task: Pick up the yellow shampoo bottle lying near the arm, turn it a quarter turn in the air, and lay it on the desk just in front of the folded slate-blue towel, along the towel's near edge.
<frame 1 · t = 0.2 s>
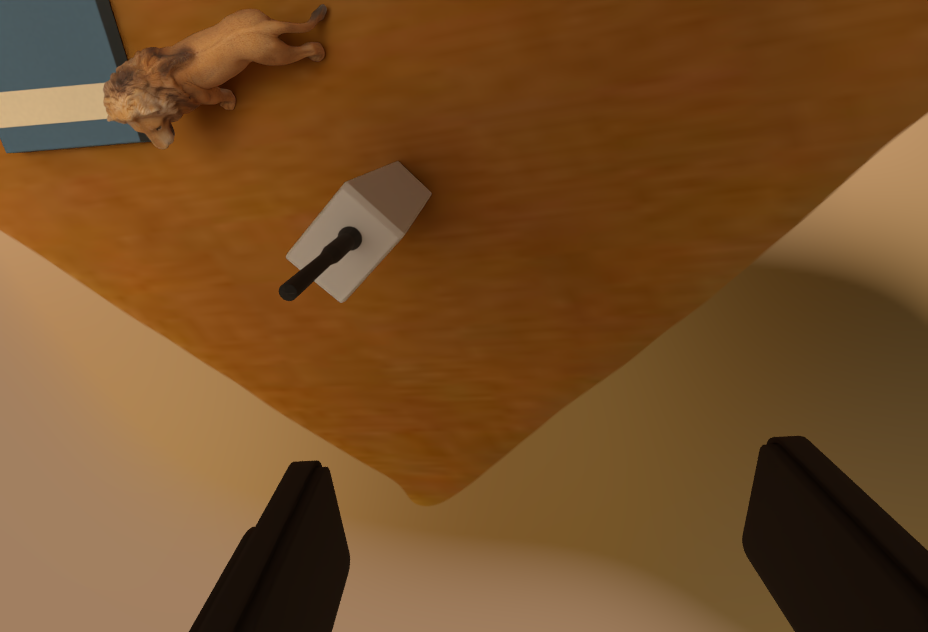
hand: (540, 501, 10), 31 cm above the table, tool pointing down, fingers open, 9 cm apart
towel: (35, 1, 33), on the table
vintage mobile phone: (396, 199, 38), on the table
lion figurine: (250, 76, 35), on the table
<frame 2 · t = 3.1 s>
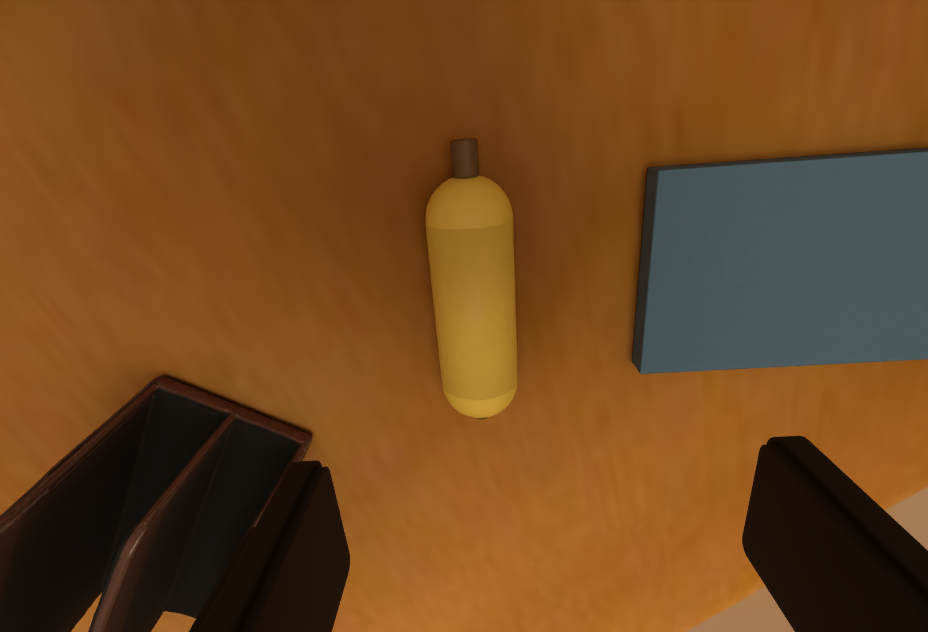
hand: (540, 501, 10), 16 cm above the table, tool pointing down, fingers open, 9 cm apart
letter holder: (203, 506, 32), on the table
yellow shampoo bottle: (474, 291, 26), on the table
towel: (827, 261, 25), on the table
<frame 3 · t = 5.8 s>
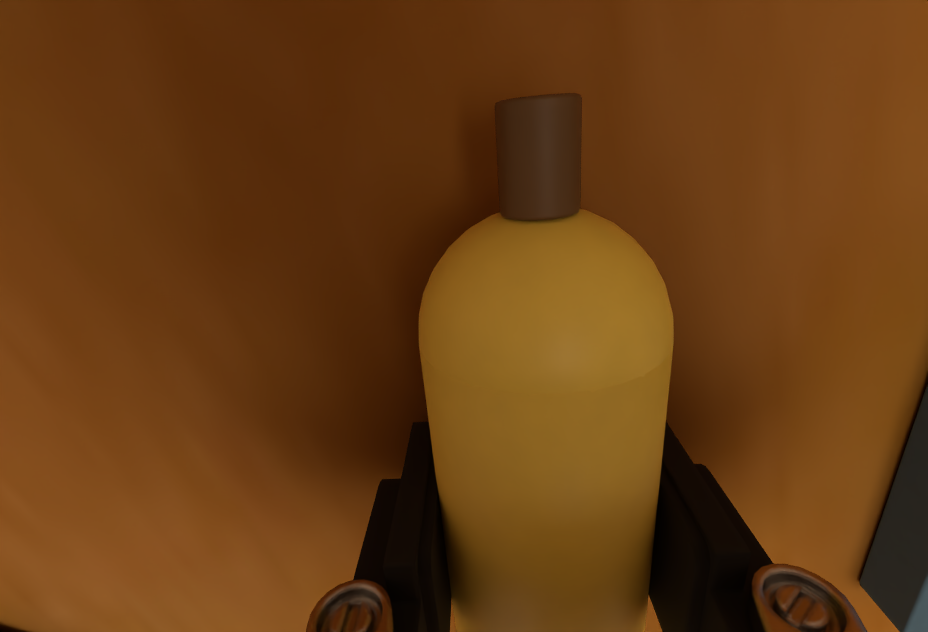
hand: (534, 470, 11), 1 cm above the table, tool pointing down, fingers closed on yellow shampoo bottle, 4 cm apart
yellow shampoo bottle: (532, 455, 11), on the table, touching gripper
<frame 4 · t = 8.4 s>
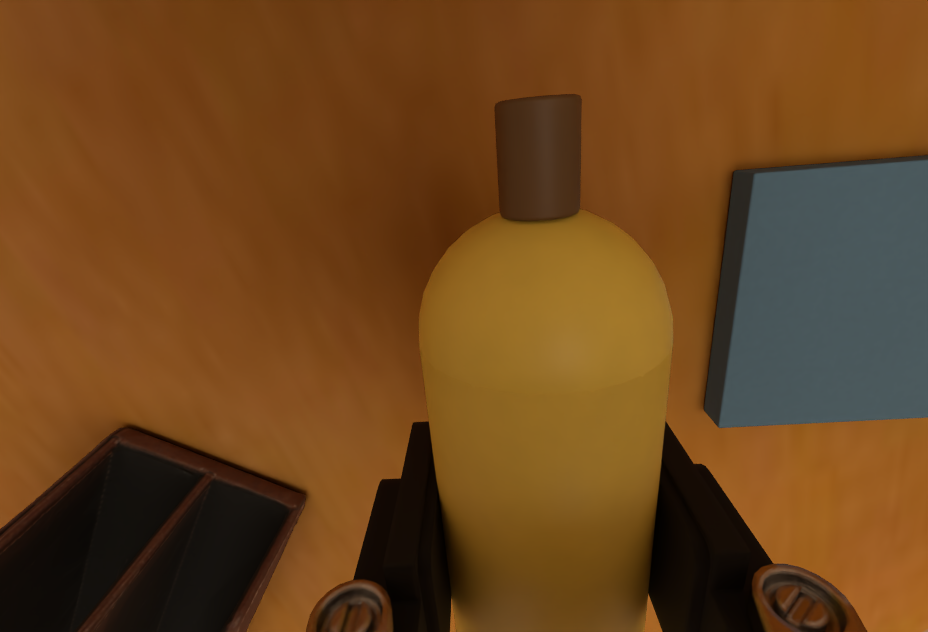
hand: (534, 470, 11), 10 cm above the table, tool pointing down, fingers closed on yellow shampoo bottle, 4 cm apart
letter holder: (179, 576, 27), on the table
yellow shampoo bottle: (532, 455, 11), point 10 cm above the table, touching gripper
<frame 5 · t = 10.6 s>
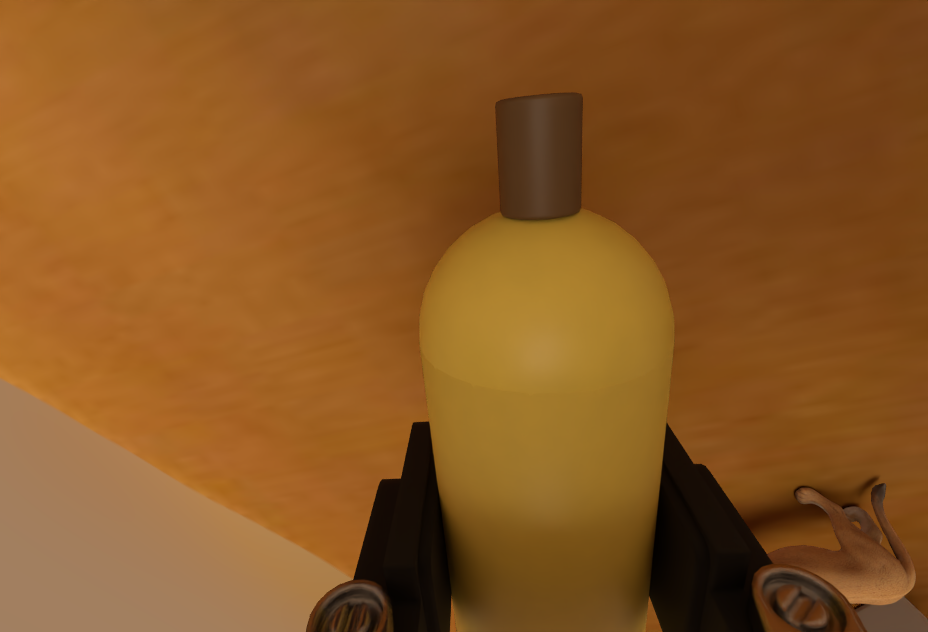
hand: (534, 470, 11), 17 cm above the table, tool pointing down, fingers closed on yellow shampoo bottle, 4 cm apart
yellow shampoo bottle: (532, 455, 11), point 16 cm above the table, touching gripper
vintage mobile phone: (874, 611, 36), on the table
lion figurine: (763, 522, 33), on the table
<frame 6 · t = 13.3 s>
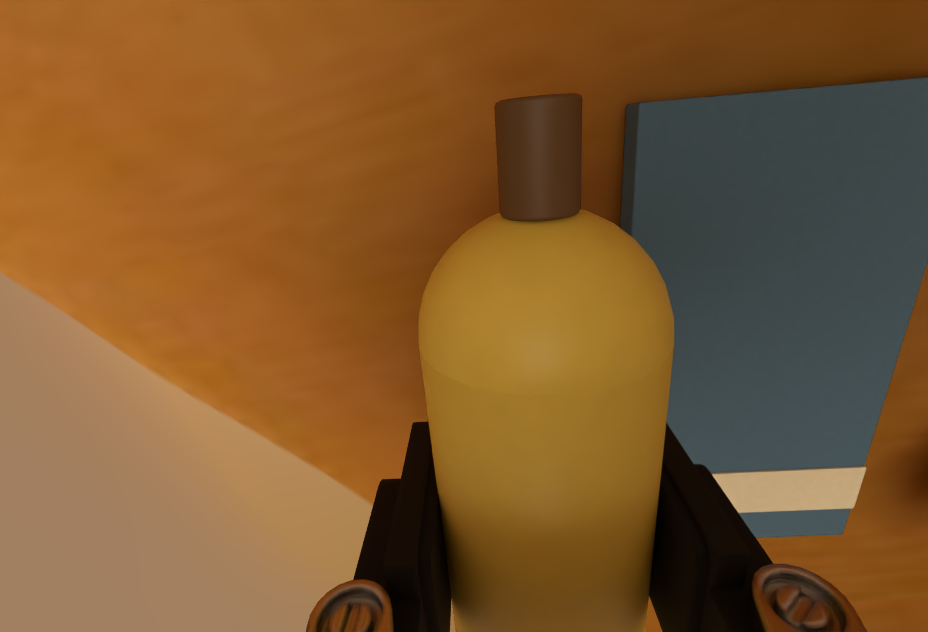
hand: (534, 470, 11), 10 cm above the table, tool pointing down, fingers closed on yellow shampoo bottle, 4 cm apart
yellow shampoo bottle: (532, 456, 11), point 9 cm above the table, touching gripper
towel: (740, 342, 20), on the table
when the fingers open (0 cm above the table, at t = 15.7 s): yellow shampoo bottle stays where it is, on the table.
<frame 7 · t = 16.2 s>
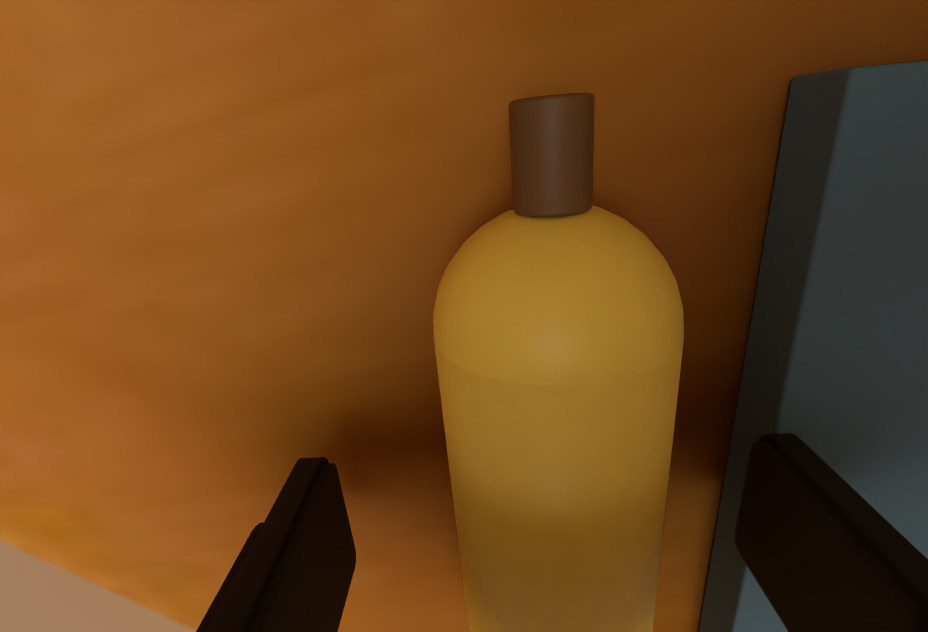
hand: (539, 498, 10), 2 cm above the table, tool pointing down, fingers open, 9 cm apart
yellow shampoo bottle: (545, 449, 12), on the table
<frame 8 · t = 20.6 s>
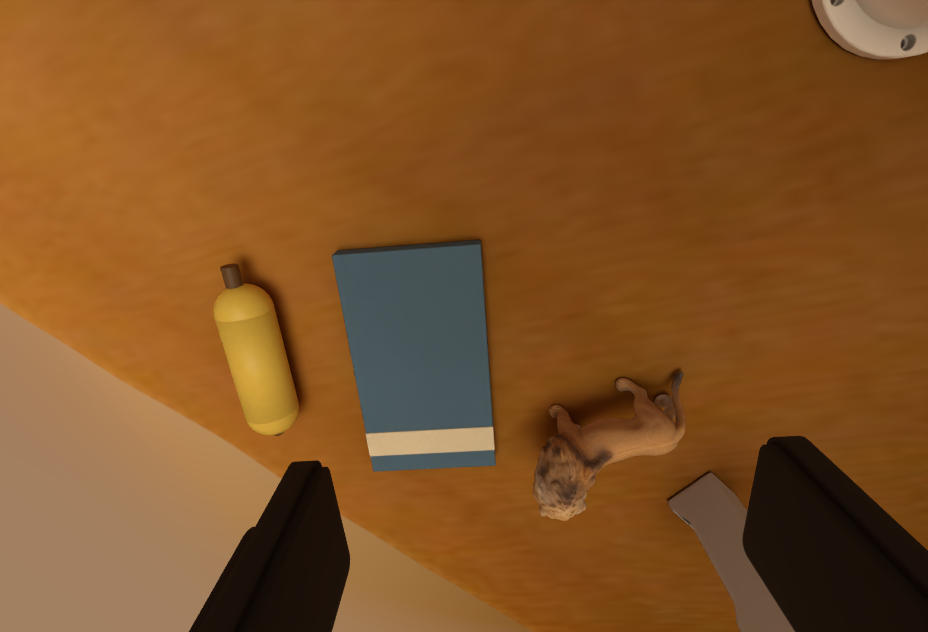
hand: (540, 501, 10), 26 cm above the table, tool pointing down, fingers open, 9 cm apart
yellow shampoo bottle: (286, 357, 37), point 2 cm above the table, tilted 73°
towel: (423, 361, 38), on the table
vintage mobile phone: (698, 494, 43), on the table
lion figurine: (595, 411, 40), on the table
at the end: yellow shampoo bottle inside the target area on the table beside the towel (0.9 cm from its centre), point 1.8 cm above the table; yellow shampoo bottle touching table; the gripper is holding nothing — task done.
